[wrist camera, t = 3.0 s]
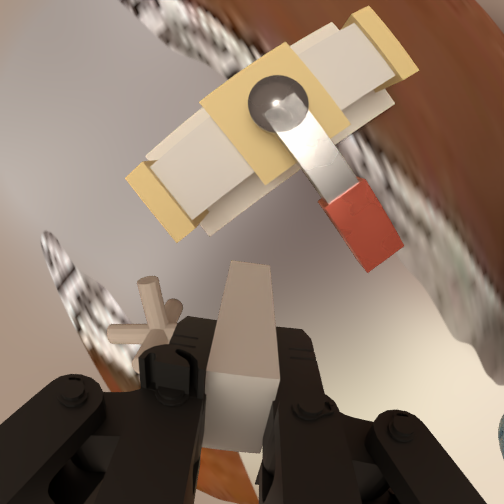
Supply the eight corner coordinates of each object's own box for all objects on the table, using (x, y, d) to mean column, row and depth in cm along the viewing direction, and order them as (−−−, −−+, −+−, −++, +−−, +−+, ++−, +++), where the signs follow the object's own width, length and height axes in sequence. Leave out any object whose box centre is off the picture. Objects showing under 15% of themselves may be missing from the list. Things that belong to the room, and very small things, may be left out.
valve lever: (392, 233, 18) (406, 243, 16) (354, 261, 19) (364, 274, 17) (281, 73, 16) (284, 63, 13) (238, 103, 16) (235, 97, 14)
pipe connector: (229, 345, 32) (218, 414, 23) (142, 347, 33) (109, 408, 23) (215, 255, 29) (194, 305, 20) (119, 263, 30) (68, 309, 20)
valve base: (388, 105, 24) (442, 90, 15) (212, 232, 29) (189, 271, 19) (328, 27, 22) (356, -20, 13) (150, 155, 27) (100, 160, 17)
